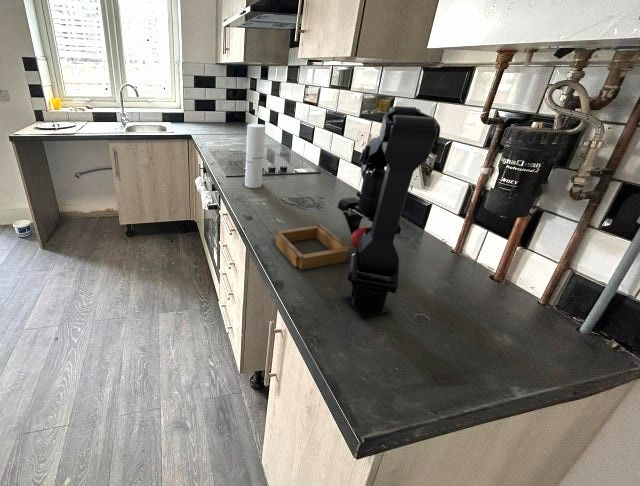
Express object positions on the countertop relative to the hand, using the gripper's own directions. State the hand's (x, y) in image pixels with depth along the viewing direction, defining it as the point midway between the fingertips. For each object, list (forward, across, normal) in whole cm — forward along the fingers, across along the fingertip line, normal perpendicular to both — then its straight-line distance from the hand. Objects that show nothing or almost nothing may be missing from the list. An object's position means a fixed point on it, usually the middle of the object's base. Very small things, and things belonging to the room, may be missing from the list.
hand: (361, 242), depth 90 cm
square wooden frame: (+3, +4, +14) cm, 15 cm away
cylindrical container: (+3, +59, +9) cm, 60 cm away
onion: (+3, 0, 0) cm, 3 cm away
